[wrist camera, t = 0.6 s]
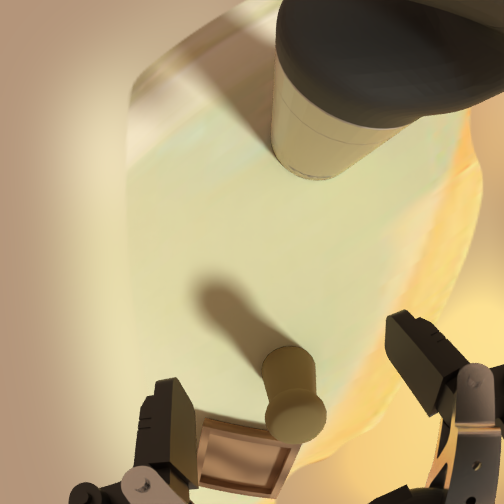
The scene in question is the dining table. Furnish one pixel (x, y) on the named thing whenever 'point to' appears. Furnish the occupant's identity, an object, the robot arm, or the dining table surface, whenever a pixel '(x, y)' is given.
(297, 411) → the olive pepper mill
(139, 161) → the dining table surface
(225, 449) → the tray
